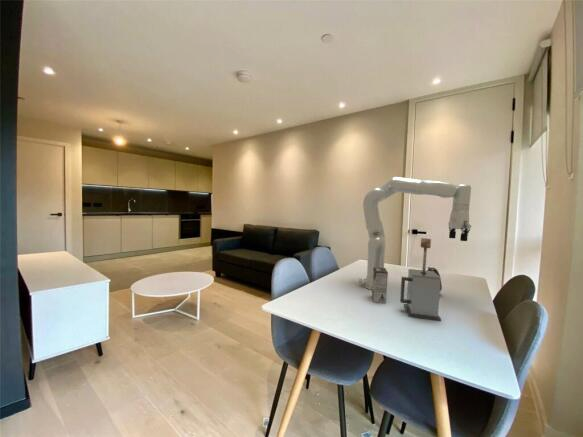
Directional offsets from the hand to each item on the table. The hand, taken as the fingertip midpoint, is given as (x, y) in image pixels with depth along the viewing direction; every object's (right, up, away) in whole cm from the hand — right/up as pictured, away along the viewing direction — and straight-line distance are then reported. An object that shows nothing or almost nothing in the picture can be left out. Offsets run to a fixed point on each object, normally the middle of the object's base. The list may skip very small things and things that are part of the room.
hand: (457, 239), depth 136 cm
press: (-30, -33, -17) cm, 48 cm away
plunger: (-28, -18, -19) cm, 39 cm away
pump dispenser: (-9, -32, +9) cm, 35 cm away
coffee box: (-44, -32, -3) cm, 54 cm away
